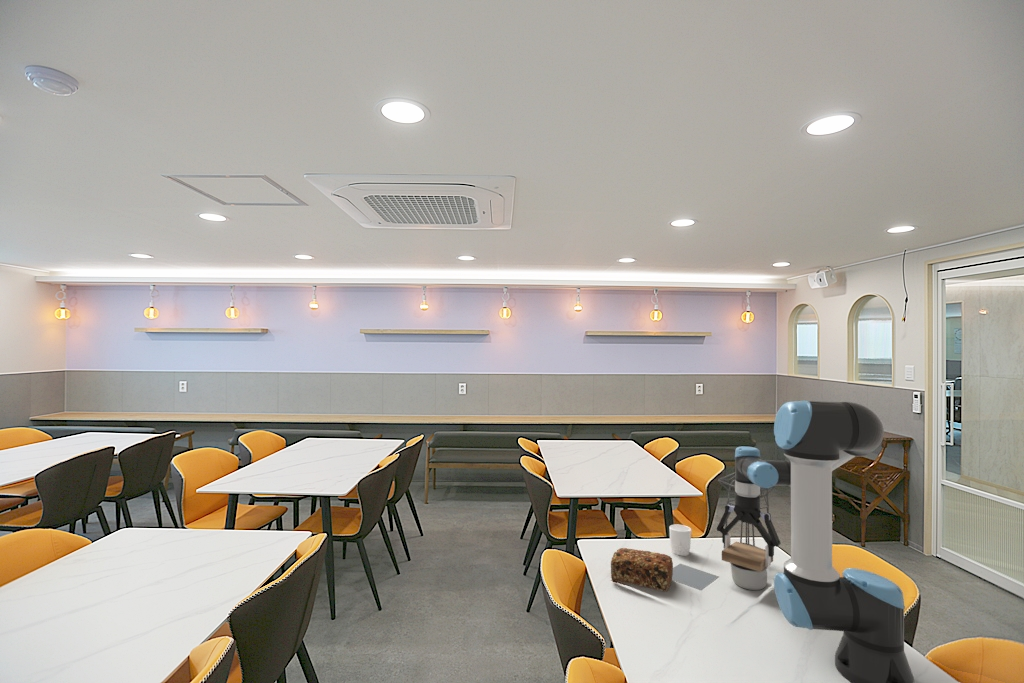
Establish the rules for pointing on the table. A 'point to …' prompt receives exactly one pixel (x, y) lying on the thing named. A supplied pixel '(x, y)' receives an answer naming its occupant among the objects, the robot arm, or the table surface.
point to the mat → (692, 576)
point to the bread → (642, 568)
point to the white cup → (680, 539)
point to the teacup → (749, 577)
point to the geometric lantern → (734, 504)
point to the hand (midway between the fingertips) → (747, 559)
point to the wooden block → (745, 556)
